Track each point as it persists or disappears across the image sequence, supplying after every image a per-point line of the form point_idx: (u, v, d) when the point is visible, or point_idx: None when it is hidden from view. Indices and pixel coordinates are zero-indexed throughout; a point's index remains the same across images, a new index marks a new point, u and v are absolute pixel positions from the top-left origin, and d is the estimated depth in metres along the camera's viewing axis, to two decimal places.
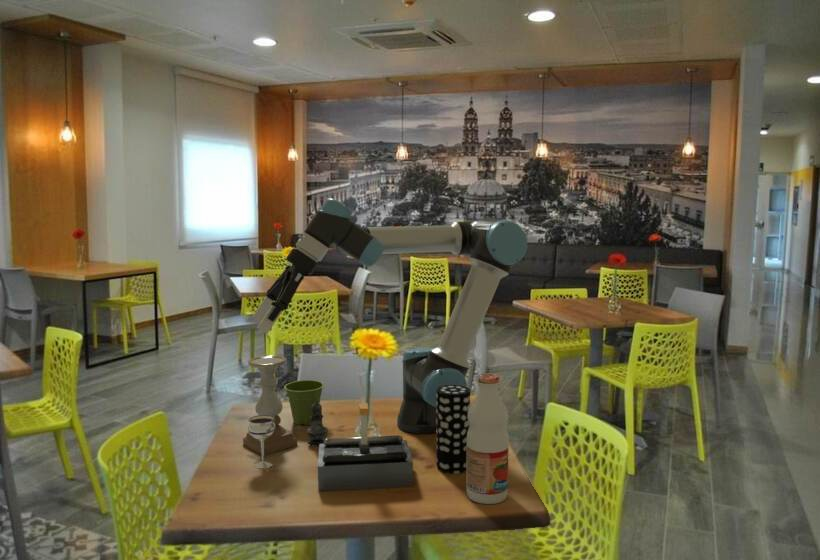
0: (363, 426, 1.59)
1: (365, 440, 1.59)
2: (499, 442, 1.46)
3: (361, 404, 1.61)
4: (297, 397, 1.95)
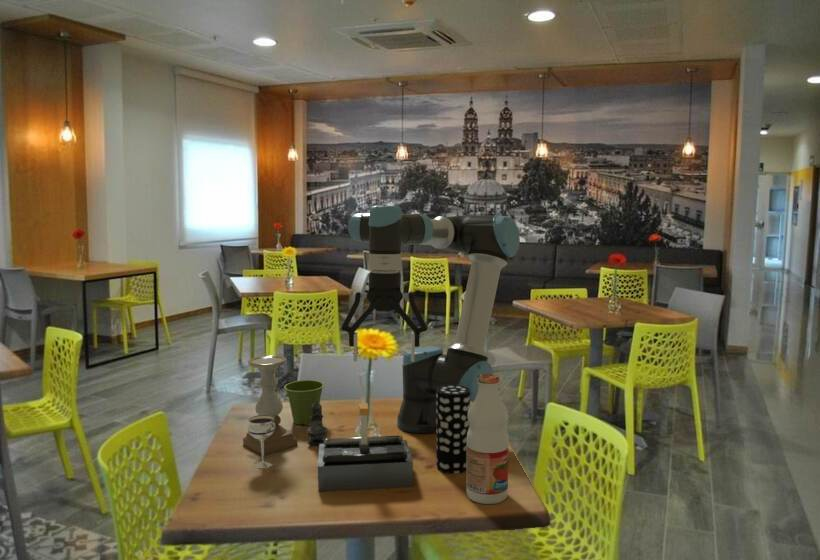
0: (363, 426, 1.59)
1: (365, 440, 1.59)
2: (499, 442, 1.46)
3: (361, 404, 1.61)
4: (297, 397, 1.95)
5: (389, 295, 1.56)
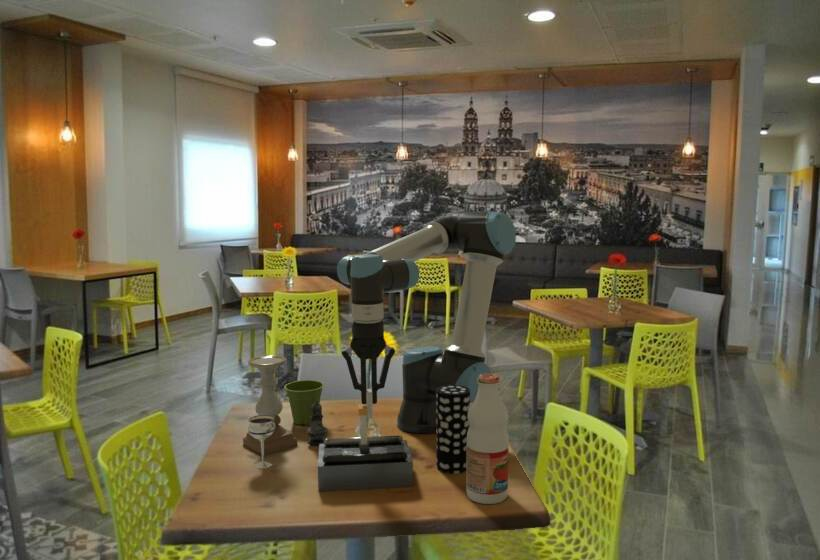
0: (362, 427, 1.59)
1: (365, 440, 1.59)
2: (499, 442, 1.46)
3: (360, 404, 1.61)
4: (297, 397, 1.95)
5: (375, 344, 1.57)
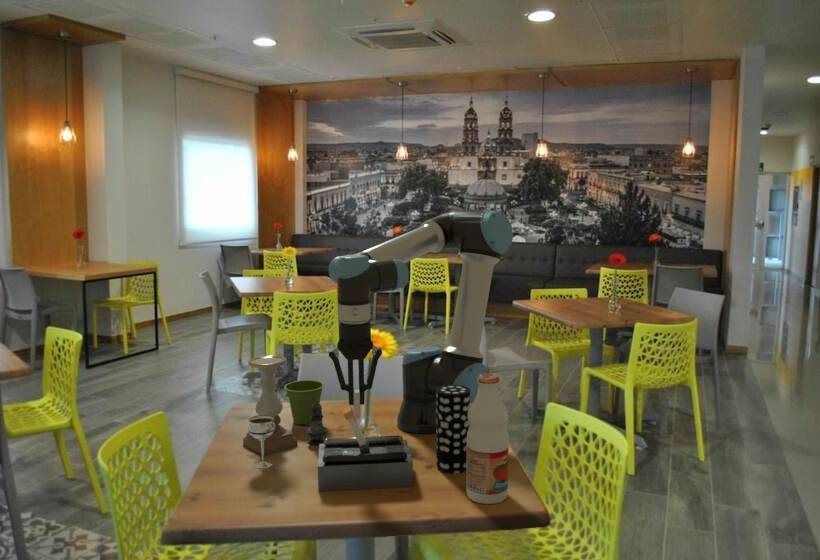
0: (354, 429, 1.59)
1: (361, 440, 1.59)
2: (499, 442, 1.46)
3: (345, 409, 1.61)
4: (297, 397, 1.95)
5: (362, 345, 1.57)
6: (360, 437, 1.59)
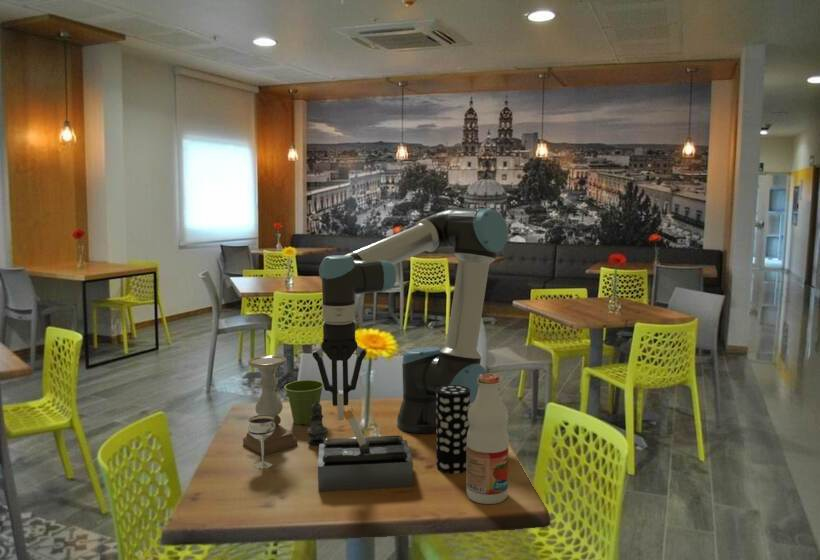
0: (354, 429, 1.59)
1: (361, 440, 1.59)
2: (499, 442, 1.46)
3: (345, 409, 1.61)
4: (297, 397, 1.95)
5: (346, 346, 1.56)
6: (360, 437, 1.59)
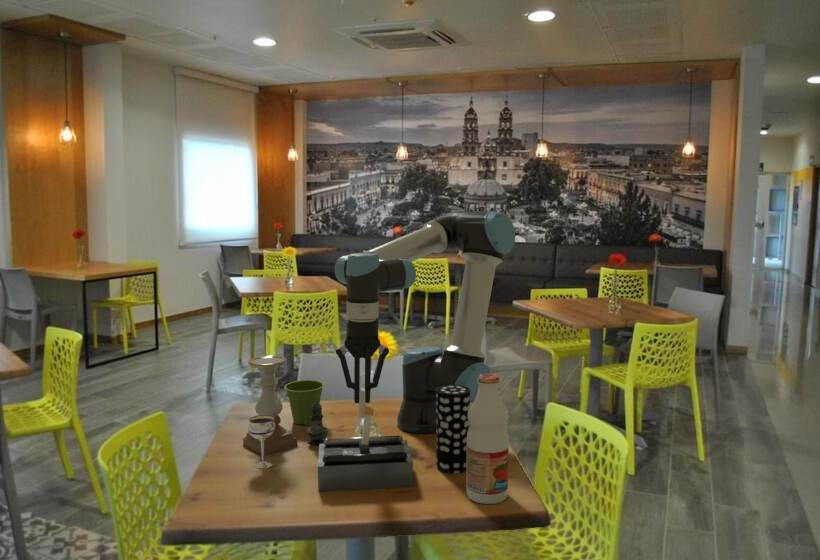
0: (366, 426, 1.59)
1: (366, 440, 1.59)
2: (499, 442, 1.46)
3: (366, 404, 1.61)
4: (297, 397, 1.95)
5: (370, 343, 1.57)
6: (367, 436, 1.59)
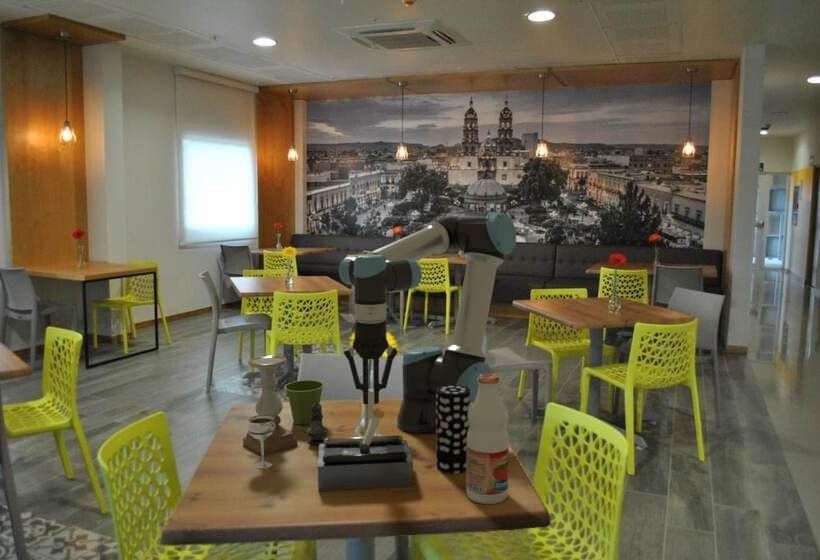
0: (372, 428, 1.59)
1: (368, 441, 1.59)
2: (499, 442, 1.46)
3: (378, 406, 1.61)
4: (297, 397, 1.95)
5: (378, 344, 1.57)
6: (370, 437, 1.59)
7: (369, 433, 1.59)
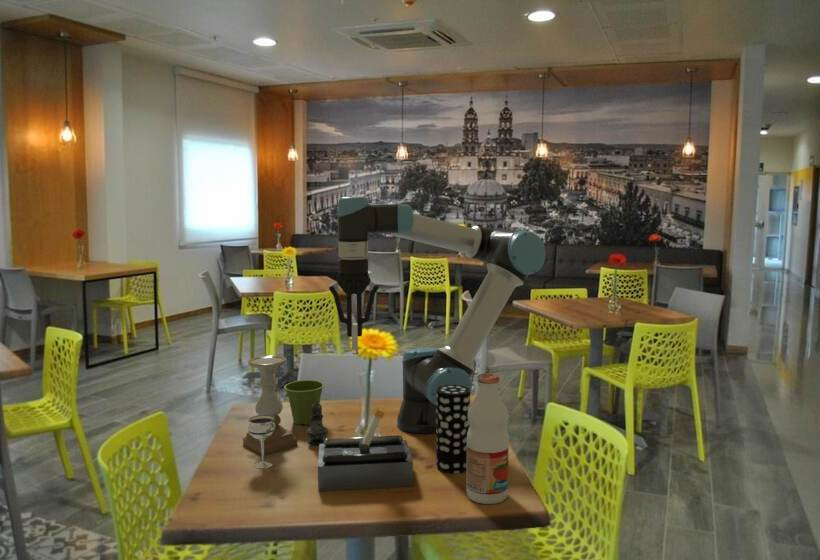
0: (372, 428, 1.59)
1: (368, 441, 1.59)
2: (499, 441, 1.46)
3: (378, 406, 1.61)
4: (297, 397, 1.95)
5: (360, 280, 1.69)
6: (370, 437, 1.59)
7: (369, 433, 1.59)
